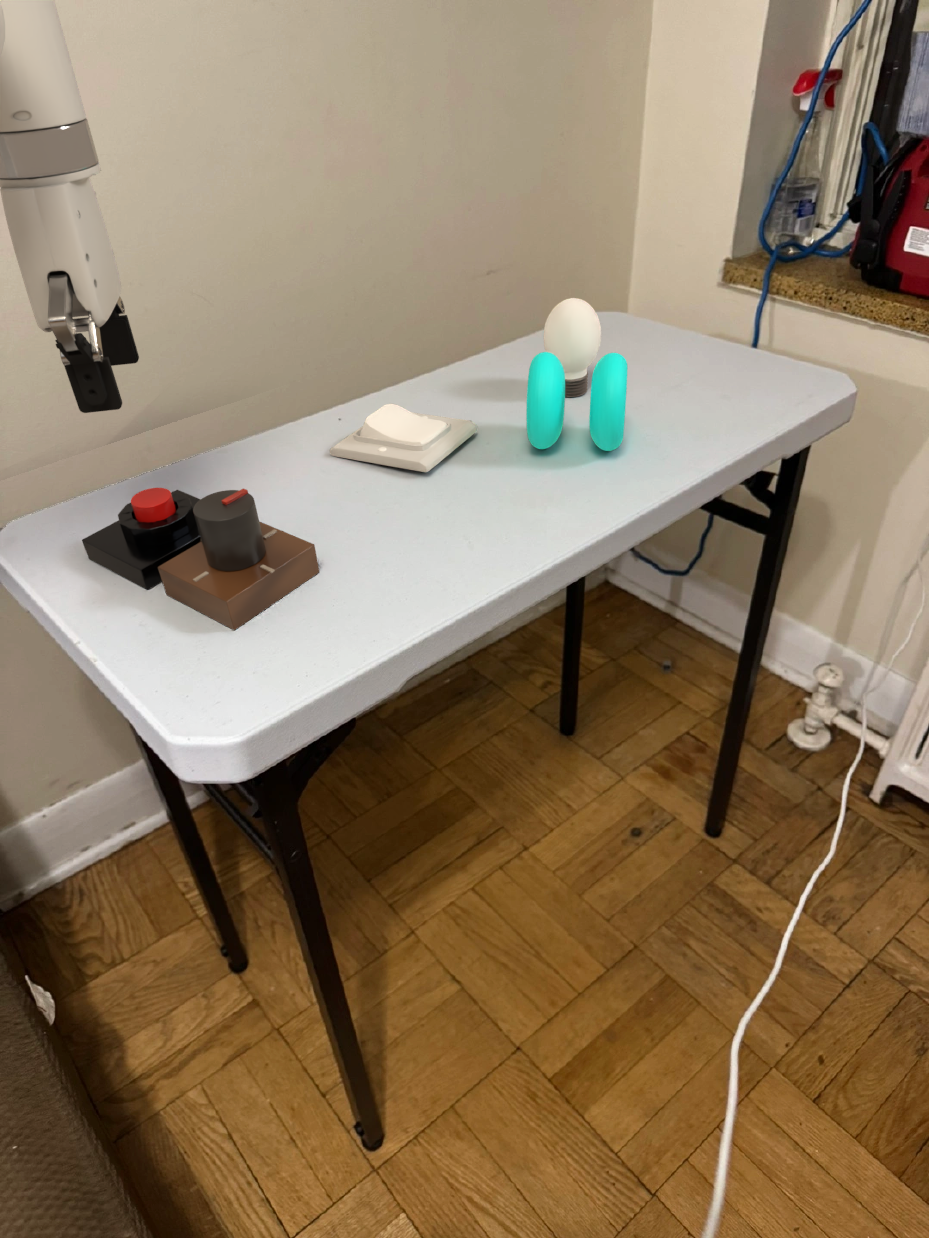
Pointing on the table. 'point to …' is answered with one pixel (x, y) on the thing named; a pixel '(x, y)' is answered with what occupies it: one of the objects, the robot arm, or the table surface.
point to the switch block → (144, 541)
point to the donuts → (550, 401)
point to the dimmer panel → (240, 578)
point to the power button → (153, 505)
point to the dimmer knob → (230, 530)
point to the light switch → (404, 439)
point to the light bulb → (573, 341)
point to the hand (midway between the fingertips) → (112, 385)
